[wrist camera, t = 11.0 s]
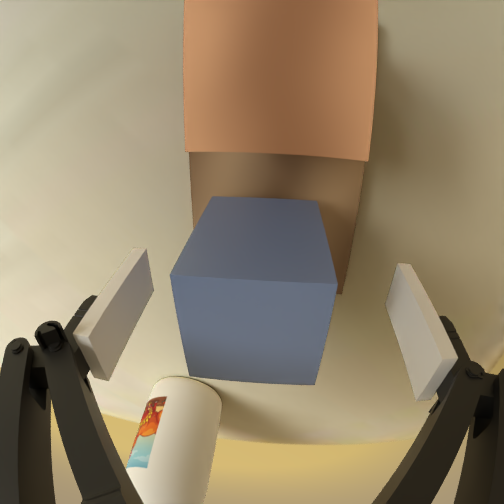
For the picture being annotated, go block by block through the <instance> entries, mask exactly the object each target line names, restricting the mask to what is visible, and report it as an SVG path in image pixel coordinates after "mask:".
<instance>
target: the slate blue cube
mask: <svg viewBox="0 0 504 504" xmlns="http://www.w3.org/2000/svg"><path fill="white" fill-rule="evenodd" d="M170 278H171V285H172V291H173V296H174V302H175V308H176V313H177V318H178V324H179V329H180V334H181V339H182V344H183V349H184V354H185V358H186V363H187V367H188V372H189V376H192V377H200V378H209V379H218V380H229V381H240V382H253V383H269V384H292V385H315V382H316V378H317V374H318V370H319V366H320V362H321V358H322V354H323V350H324V346H325V342H326V337H327V333H328V329H329V324H330V320H331V315H332V310H333V306H334V301H335V296H336V291H337V286H338V282H337V278H336V274H335V269H334V265H333V261H332V257H331V253H330V249H329V245H328V241H327V237H326V233H325V229H324V225H323V221H322V217H321V214H320V210H319V206H318V203H317V201H312V200H295V199H275V198H252V197H219V196H212V198H211V199H210V201H209V203H208V205H207V207H206V208H205V210H204V212H203V214H202V216H201V217H200V219H199V221H198V223H197V225H196V226H195V228H194V230H193V232H192V234H191V236H190V237H189V239H188V241H187V243H186V245H185V247H184V249H183V251H182V252H181V254H180V256H179V258H178V260H177V262H176V264H175V266H174V268H173V270H172V272H171V274H170Z"/></svg>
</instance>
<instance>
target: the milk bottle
mask: <svg viewBox="0 0 504 504" xmlns="http://www.w3.org/2000/svg"><path fill="white" fill-rule="evenodd" d="M221 410H222V402H221V399H220V397H219V395H218V394H217V392H216V391H214V390H213V389H212V388H211V387H209V386H207V385H206V384H204V383H202V382H199V381H196V380H194V379H190V378H185V377H175V376H173V377H166V378H162V379H161V380H159V381H158V382H157V383H156V384H155V385H154V386H153V389H152V391H151V394H150V397H149V399H148V402H147V405H146V408H145V411H144V414H143V417H142V419H141V422H140V425H139V428H138V432H137V435H136V438H135V441H134V444H133V447H132V450H131V453H130V456H129V460H128V464H127V467H126V471H127V473H128V475H129V477H130V479H131V481H132V483H133V485H134V487H135V489H136V490H137V492H138V494H139V496H140V498H141V499H142V501H143V503H144V504H203V502H204V499H205V496H206V491H207V487H208V483H209V477H210V472H211V467H212V462H213V456H214V451H215V445H216V439H217V434H218V428H219V422H220V417H221Z"/></svg>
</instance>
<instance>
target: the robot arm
mask: <svg viewBox="0 0 504 504" xmlns="http://www.w3.org/2000/svg"><path fill="white" fill-rule="evenodd" d="M153 291H154V288H153V283H152V278H151V272H150V267H149V261H148V255H147V250H146V248H133V249H132V250H131V252H130V253H129V254H128V256H127V257H126V258H125V260H124V261H123V262H122V264H121V265H120V266H119V268H118V269H117V270H116V272H115V273H114V274H113V276H112V277H111V279H110V280H109V281H108V283H107V284H106V285H105V287H104V288H103V290H102V291H101V293H100V294H99V295H98V296H94V295H92V296H90V297H89V298H88V299H86V300H85V301H84V302H83V303H82V304H81V306H80V307H79V310H77V311H76V313H75V316H73V317H72V319H71V320H70V321H69V323H68V324H67V326H66V327H65V329H64V330H63V328H62V326H61V324H60V323H59V322H57V321H48V322H45V323H43V324H41V325H40V326H39V327H38V328H37V330H36V331H35V338H36V340H37V342H38V344H39V346H30V344H29V342H28V341H27V339H25V338H16V339H14V340H12V341H11V342H10V343H9V344H8V345H7V347H6V350H5V354H4V358H3V363H2V367H1V372H0V504H56V503H55V495H54V486H53V474H52V459H51V430H50V428H51V424H50V423H51V421H50V420H51V400H52V404H53V409H54V413H55V416H56V420H57V424H58V428H59V431H60V435H61V437H62V441H63V445H64V448H65V451H66V454H67V457H68V460H69V463H70V466H71V469H72V471H73V474H74V477H75V480H76V482H77V485H78V487H79V490H80V492H81V495H82V498H83V501H82V502H81V504H144V503H143V501H142V499H141V498H140V496H139V494H138V492H137V490H136V489H135V487H134V485H133V483H132V481H131V479H130V477H129V475H128V473H127V471H126V469H125V467H124V465H123V463H122V461H121V459H120V457H119V455H118V453H117V450H116V448H115V446H114V444H113V442H112V439H111V437H110V435H109V433H108V430H107V428H106V425H105V423H104V420H103V418H102V415H101V413H100V410H99V407H98V405H97V402H96V399H95V396H94V394H93V391H92V388H91V385H90V382H89V380H88V378H87V374H88V372H89V370H90V371H91V373H92V374H93V376H94V378H98V379H102V380H106V381H109V379H110V377H111V375H112V373H113V371H114V369H115V367H116V365H117V362H118V360H119V358H120V356H121V354H122V352H123V350H124V348H125V346H126V344H127V342H128V340H129V338H130V336H131V334H132V332H133V330H134V328H135V326H136V324H137V322H138V320H139V318H140V316H141V314H142V312H143V310H144V308H145V307H146V305H147V303H148V301H149V299H150V297H151V295H152V293H153ZM385 306H386V309H387V312H388V314H389V317H390V320H391V323H392V326H393V329H394V332H395V334H396V337H397V340H398V343H399V347H400V350H401V353H402V356H403V359H404V362H405V365H406V369H407V372H408V375H409V379H410V382H411V386H412V389H413V393H414V396H415V400H416V401H423V400H431V398H432V397H433V396H434V394H435V393H436V392H437V395H438V398H439V399H438V400H437V401H436V403H435V404H434V405H433V407H432V408H431V409H430V411H429V413H430V414H429V416H428V418H427V420H426V422H425V424H424V425H423V427H422V429H421V431H420V432H419V434H418V436H417V438H416V439H415V441H414V443H413V444H412V446H411V448H410V449H409V451H408V453H407V454H406V456H405V457H404V459H403V460H402V462H401V464H400V465H399V467H398V468H397V470H396V471H395V472H394V474H393V475H392V477H391V478H390V480H389V481H388V483H387V484H386V485H385V487H384V488H383V489H382V491H381V492H380V493H379V495H378V496H377V497H376V499H375V500H374V501H373V503H372V504H431V503H432V501H433V499H434V498H435V496H436V494H437V492H438V491H439V489H440V487H441V485H442V483H443V481H444V479H445V477H446V476H447V474H448V472H449V470H450V468H451V466H452V464H453V461H454V459H455V457H456V455H457V453H458V451H459V448H460V446H461V444H462V441H463V439H464V437H465V435H466V432H467V430H468V427H469V433H468V440H467V446H466V452H465V457H464V463H463V467H462V472H461V477H460V481H459V485H458V489H457V493H456V497H455V501H454V504H504V369H502V370H501V371H500V373H499V374H498V375H494V374H489V373H485V371H484V369H483V368H482V367H481V365H479V364H478V363H476V362H473V361H471V360H470V358H469V356H468V354H467V352H466V350H465V348H464V346H463V343H462V341H461V339H459V338H460V337H459V335H458V333H456V329H455V327H454V325H453V324H452V322H451V321H450V320H449V319H448V318H447V317H446V316H438V314H437V312H436V310H435V308H434V306H433V305H432V303H431V301H430V299H429V297H428V295H427V293H426V291H425V289H424V288H423V286H422V284H421V282H420V280H419V278H418V277H417V275H416V273H415V271H414V270H413V268H412V266H411V264H406V263H397V266H396V270H395V273H394V277H393V280H392V283H391V287H390V290H389V293H388V296H387V299H386V302H385Z"/></svg>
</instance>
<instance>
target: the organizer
mask: <svg viewBox="0 0 504 504" xmlns="http://www.w3.org/2000/svg"><path fill="white" fill-rule="evenodd" d="M377 45H378V0H184V36H183V86H184V128H185V152H189V161H190V180H191V198H192V213H193V227H194V228H195V226H196V225H197V223H198V221H199V219H200V217H201V216H202V214H203V212H204V210H205V208H206V207H207V205H208V203H209V201H210V199H211V198H212V196H219V197H252V198H275V199H295V200H312V201H317V203H318V206H319V210H320V214H321V217H322V221H323V225H324V229H325V233H326V237H327V241H328V245H329V249H330V253H331V257H332V261H333V265H334V269H335V274H336V278H337V282H338V286H337V291H336V294H342V291H343V286H344V282H345V277H346V272H347V267H348V263H349V258H350V252H351V247H352V242H353V236H354V231H355V225H356V219H357V213H358V207H359V201H360V194H361V188H362V181H363V173H364V166H365V161H368V159H369V151H370V142H371V133H372V123H373V113H374V101H375V87H376V70H377Z"/></svg>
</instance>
